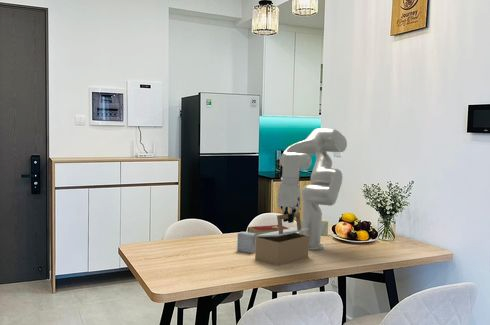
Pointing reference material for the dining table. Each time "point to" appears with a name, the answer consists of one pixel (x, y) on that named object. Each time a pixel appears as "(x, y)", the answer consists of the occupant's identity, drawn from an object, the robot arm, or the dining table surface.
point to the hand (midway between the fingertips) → (288, 221)
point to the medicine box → (246, 242)
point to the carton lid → (286, 231)
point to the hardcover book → (264, 229)
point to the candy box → (323, 228)
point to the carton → (282, 248)
